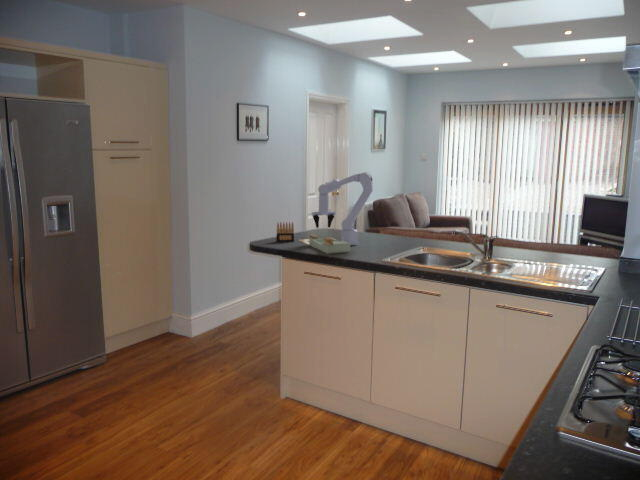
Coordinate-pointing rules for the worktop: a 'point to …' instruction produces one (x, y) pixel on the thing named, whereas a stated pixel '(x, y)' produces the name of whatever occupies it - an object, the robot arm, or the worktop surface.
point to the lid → (307, 241)
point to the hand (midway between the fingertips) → (323, 227)
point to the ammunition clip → (285, 233)
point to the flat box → (330, 246)
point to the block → (328, 241)
